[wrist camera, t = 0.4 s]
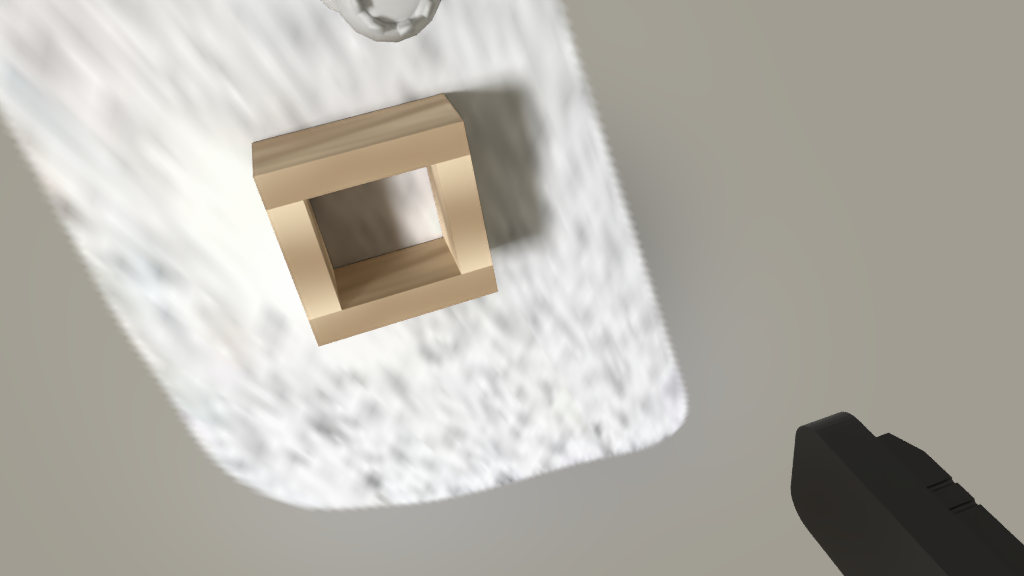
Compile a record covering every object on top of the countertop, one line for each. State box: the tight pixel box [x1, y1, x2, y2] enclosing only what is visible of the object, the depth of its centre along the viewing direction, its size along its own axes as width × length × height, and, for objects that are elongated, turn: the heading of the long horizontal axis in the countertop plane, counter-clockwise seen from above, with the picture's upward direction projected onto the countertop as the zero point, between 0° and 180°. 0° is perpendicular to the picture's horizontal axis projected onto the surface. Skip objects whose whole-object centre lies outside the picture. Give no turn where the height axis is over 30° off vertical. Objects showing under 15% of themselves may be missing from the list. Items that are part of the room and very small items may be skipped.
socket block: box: [252, 94, 498, 346], centre depth 32 cm, size 8×8×4 cm
